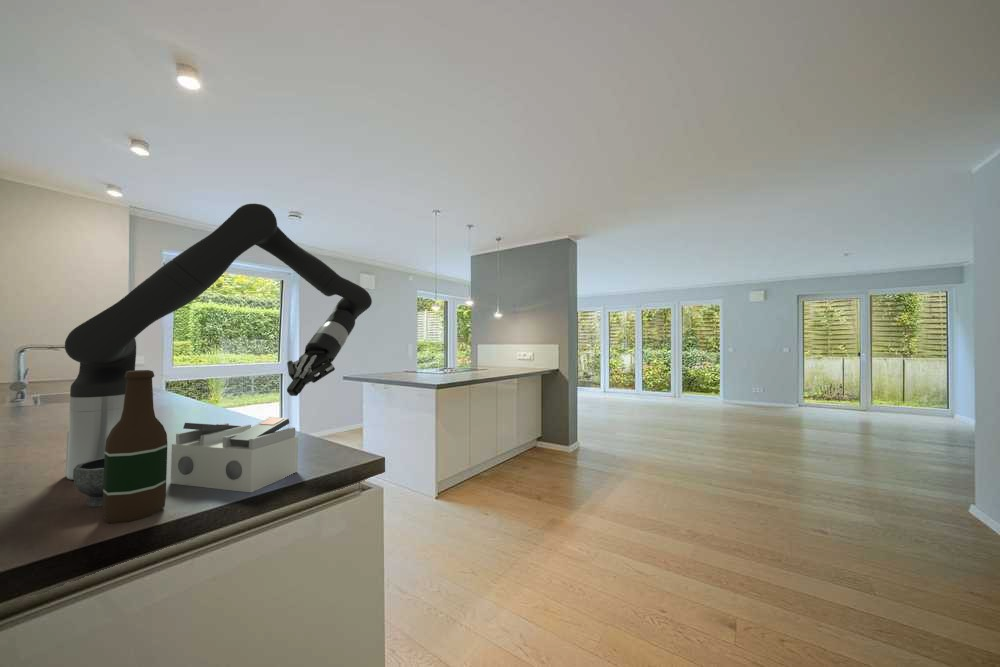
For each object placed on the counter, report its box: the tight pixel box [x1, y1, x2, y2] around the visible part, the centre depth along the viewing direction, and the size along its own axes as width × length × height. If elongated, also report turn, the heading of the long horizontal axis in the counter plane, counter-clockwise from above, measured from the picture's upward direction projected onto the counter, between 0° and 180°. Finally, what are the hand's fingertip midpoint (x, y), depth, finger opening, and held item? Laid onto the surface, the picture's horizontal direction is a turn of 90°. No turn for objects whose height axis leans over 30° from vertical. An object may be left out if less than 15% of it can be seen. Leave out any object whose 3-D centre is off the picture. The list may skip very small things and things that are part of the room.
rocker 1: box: [183, 422, 242, 431], centre depth 82 cm, size 5×10×1 cm, turn 167°
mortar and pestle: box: [73, 458, 104, 508], centre depth 70 cm, size 11×9×12 cm
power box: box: [170, 422, 299, 493], centre depth 81 cm, size 20×12×10 cm, turn 77°
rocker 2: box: [230, 416, 290, 446], centre depth 80 cm, size 5×10×1 cm, turn 167°
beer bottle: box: [102, 369, 168, 524], centre depth 64 cm, size 8×8×24 cm
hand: (291, 393), depth 88 cm, fingers closed
